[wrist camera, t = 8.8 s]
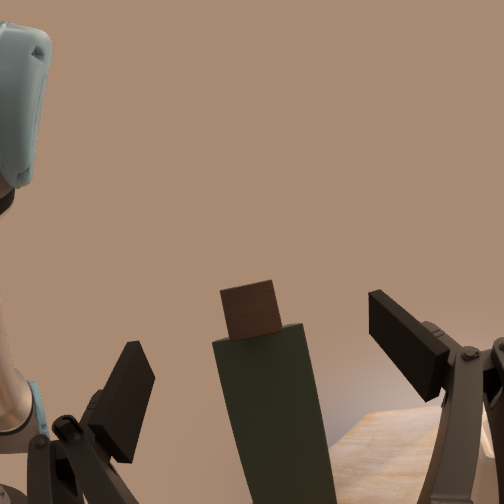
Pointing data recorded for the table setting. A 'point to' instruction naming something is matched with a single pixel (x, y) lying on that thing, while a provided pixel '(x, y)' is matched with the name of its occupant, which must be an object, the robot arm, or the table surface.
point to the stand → (276, 417)
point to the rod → (251, 311)
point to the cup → (485, 469)
